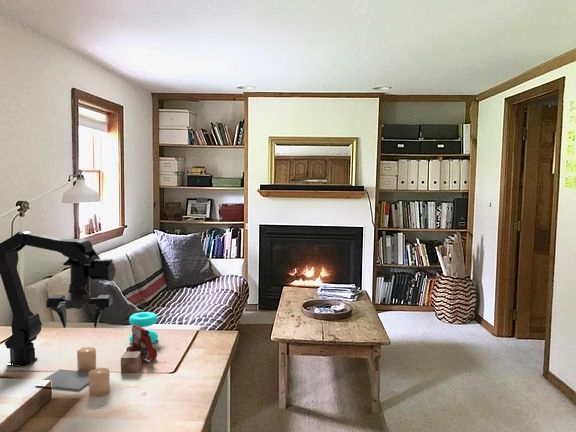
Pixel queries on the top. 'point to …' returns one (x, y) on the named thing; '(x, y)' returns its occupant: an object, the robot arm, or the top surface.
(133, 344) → the toy fire truck
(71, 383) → the slate board
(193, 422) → the top surface
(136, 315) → the donuts
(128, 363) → the walnut block
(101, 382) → the peach domed cap
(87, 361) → the peach domed cylinder
